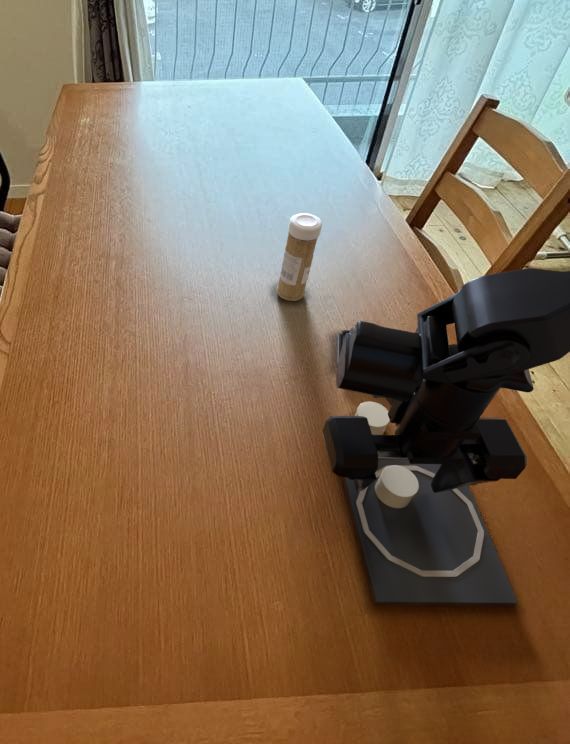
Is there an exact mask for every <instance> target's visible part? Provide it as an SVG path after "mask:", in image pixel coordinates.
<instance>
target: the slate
mask: <svg viewBox="0 0 570 744" xmlns="http://www.w3.org/2000/svg"><path fill="white" fill-rule="evenodd" d="M392 465H398V466H402V467H405V468H407V469H408V470H410V471H411V472H412V473H413V474H414V475H415V476H416V478H417V480H418V483H419V489H418V491H417V493H416V494H415V496H414V497H413V499H412V500H411V502H410V503H409V504H408V505H407V506H406V507H403V508H393V507H390V506H388V505H386V504H384V503H383V502H382V501H381V500H380V499H379V498H378V496H377V494H376V492H375V484H376V482H377V480H378V479H379V477H380V475H381V473H382V471H383V470H384V469H385V468H386V467H388V466H392ZM441 465H442V464H410V463H409V460H378V468H377V470H376V472H375V474H376V477H377V479H376V480H375V481H374V482H373V483H371V484H370V485H369V486H368V487H367V488H365V489H364V490H362V491H361V492H356V489H355V485H354V480H350V479H348V478H347V477H341V478H342V482H343V487H344V490H345V494H346V499H347V502H348V506H349V510H350V515H351V518H352V522H353V527H354V530H355V534H356V537H357V544H358V547H359V551H360V555H361V559H362V562H363V566H364V571H365V574H366V575H365V576H366V579H367V583H368V586H369V591H370V595H371V599H372V602H373V606H403V607H405V606H407V607H408V606H409V607H411V606H413V607H502V608H503V607H508V608H509V607H515V606H517V605H518V604H519V602H518V600H517V599H518V598H517V597H516V594H515V592H514V590H513V587H512V585H511V583H510V580H509V578H508V575H507V573H506V571H505V569H504V566H503V564H502V561H501V558H500V557H499V554H498V552H497V549H496V548H495V545H494V542H493V541H492V538H491V535H490V533H489V531H488V529H487V527H486V524H485V521H484V519H483V517H482V514H481V512H480V510H479V508H478V505H477V502H476V501H475V498H474V496H473V493H472V491H471V489H470V486H465V487H460V488H456V489H452V490H447V491H443V492H438V493H434V492H433V490H432V487H431V483H432V480H433V478H434V476H435V474H436V473H437V471H438V469H439V468H440V466H441Z"/></svg>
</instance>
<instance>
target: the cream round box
mask: <svg viewBox="0 0 570 744" xmlns="http://www.w3.org/2000/svg"><path fill="white" fill-rule="evenodd" d="M388 412H389V410H388V409H387V408H386V407H385V406H384V405H382V404H381V403H378V402H376V401H363V402H362V403H360V404H359V405H358V407H357V408H356V411H355V413H354V415H353V416H363V417H366V418H367V420H368V423H369V426H370V429H371V433H372V435H384V433H385V431H386V430H387V427H388V425H389V424H390V423H391V422H390V419H389V416H388Z"/></svg>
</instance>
